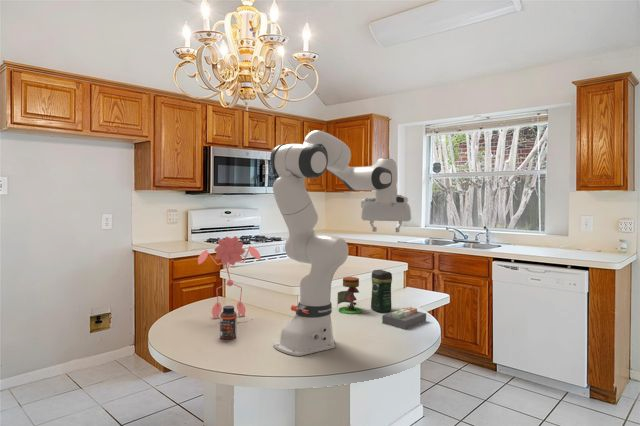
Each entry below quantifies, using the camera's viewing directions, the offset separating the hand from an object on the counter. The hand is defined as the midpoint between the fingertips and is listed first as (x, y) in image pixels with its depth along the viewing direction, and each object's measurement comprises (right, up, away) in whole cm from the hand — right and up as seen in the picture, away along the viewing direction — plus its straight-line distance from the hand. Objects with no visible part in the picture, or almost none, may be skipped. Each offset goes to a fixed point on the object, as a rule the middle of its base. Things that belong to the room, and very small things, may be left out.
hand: (385, 231), depth 177 cm
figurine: (-65, -37, +4) cm, 75 cm away
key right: (+12, -35, +6) cm, 38 cm away
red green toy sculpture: (-13, -37, +20) cm, 44 cm away
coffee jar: (+1, -37, +21) cm, 43 cm away
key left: (+5, -36, -1) cm, 36 cm away
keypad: (+8, -38, +3) cm, 39 cm away
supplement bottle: (-61, -38, -19) cm, 74 cm away
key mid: (+8, -36, +3) cm, 37 cm away
